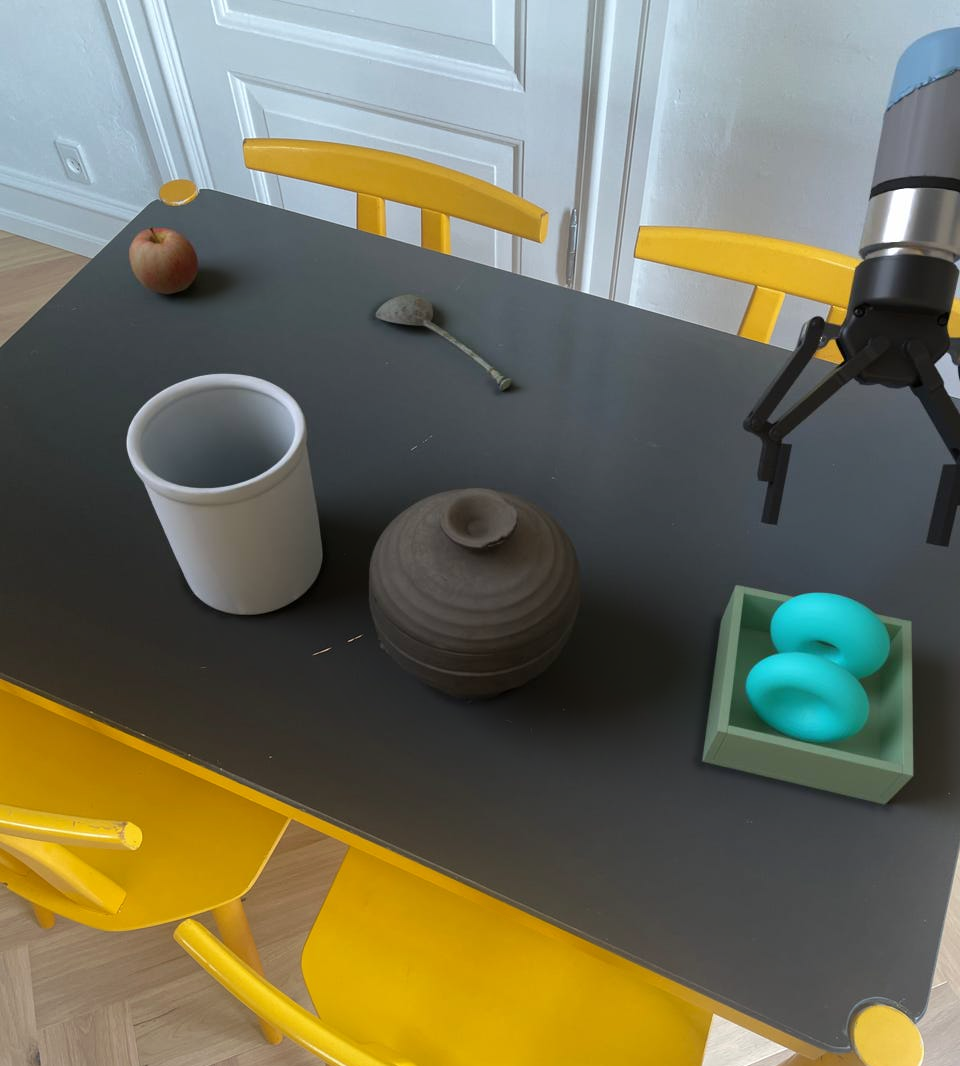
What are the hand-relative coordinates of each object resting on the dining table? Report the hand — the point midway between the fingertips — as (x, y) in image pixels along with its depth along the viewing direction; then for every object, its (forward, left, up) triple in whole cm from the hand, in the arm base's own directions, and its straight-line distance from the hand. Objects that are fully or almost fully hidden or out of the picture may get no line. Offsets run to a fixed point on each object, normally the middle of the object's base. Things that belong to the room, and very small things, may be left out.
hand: (852, 534), depth 73 cm
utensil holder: (+54, +5, -15) cm, 56 cm away
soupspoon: (+45, -32, -15) cm, 56 cm away
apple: (+82, -34, -15) cm, 89 cm away
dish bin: (0, +8, -14) cm, 17 cm away
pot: (+30, +10, -15) cm, 35 cm away
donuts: (0, +8, -14) cm, 16 cm away
